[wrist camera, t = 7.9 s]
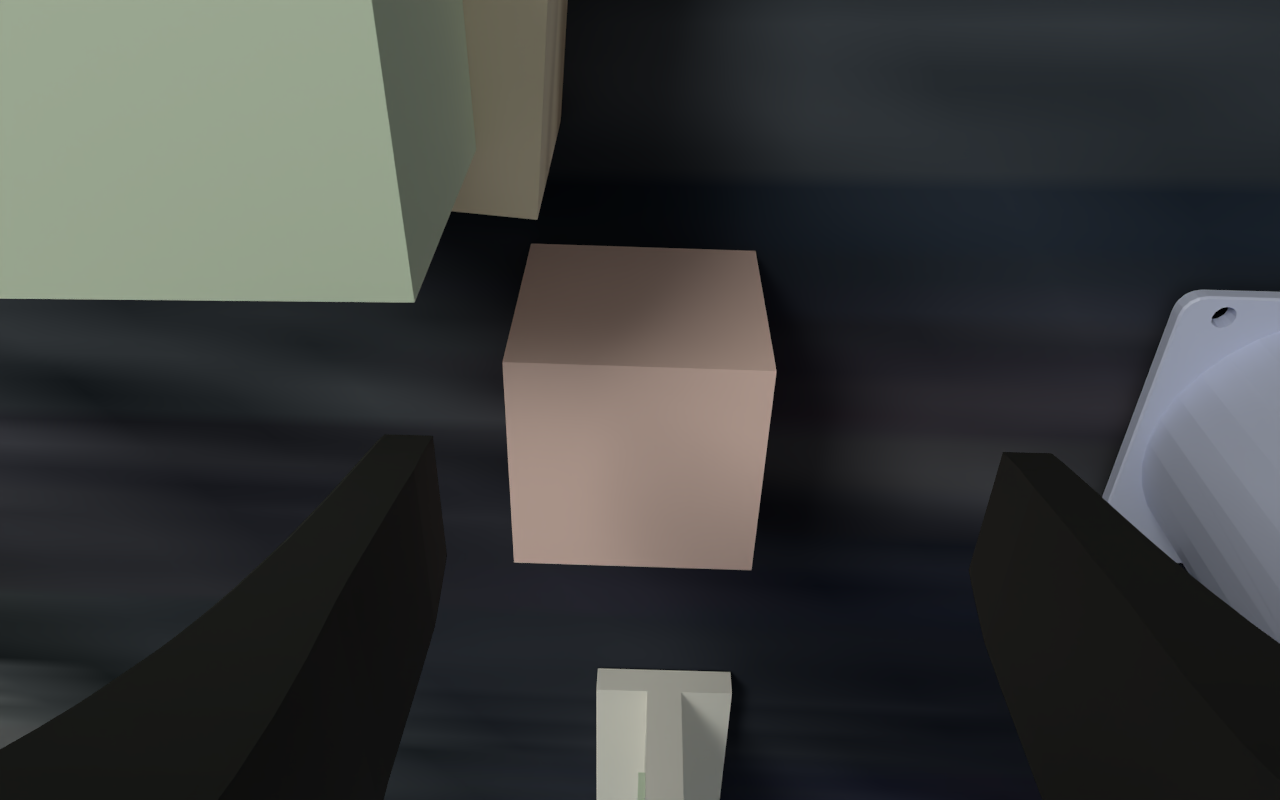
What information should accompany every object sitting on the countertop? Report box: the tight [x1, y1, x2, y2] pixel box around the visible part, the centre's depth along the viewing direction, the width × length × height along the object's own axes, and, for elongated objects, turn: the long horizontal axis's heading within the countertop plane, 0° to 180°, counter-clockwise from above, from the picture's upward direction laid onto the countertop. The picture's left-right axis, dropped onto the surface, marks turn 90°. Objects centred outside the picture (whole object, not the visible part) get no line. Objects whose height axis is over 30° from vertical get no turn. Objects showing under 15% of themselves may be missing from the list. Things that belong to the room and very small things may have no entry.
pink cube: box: [503, 244, 777, 570], centre depth 22 cm, size 5×5×5 cm
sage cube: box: [0, 0, 476, 302], centre depth 13 cm, size 5×5×5 cm
